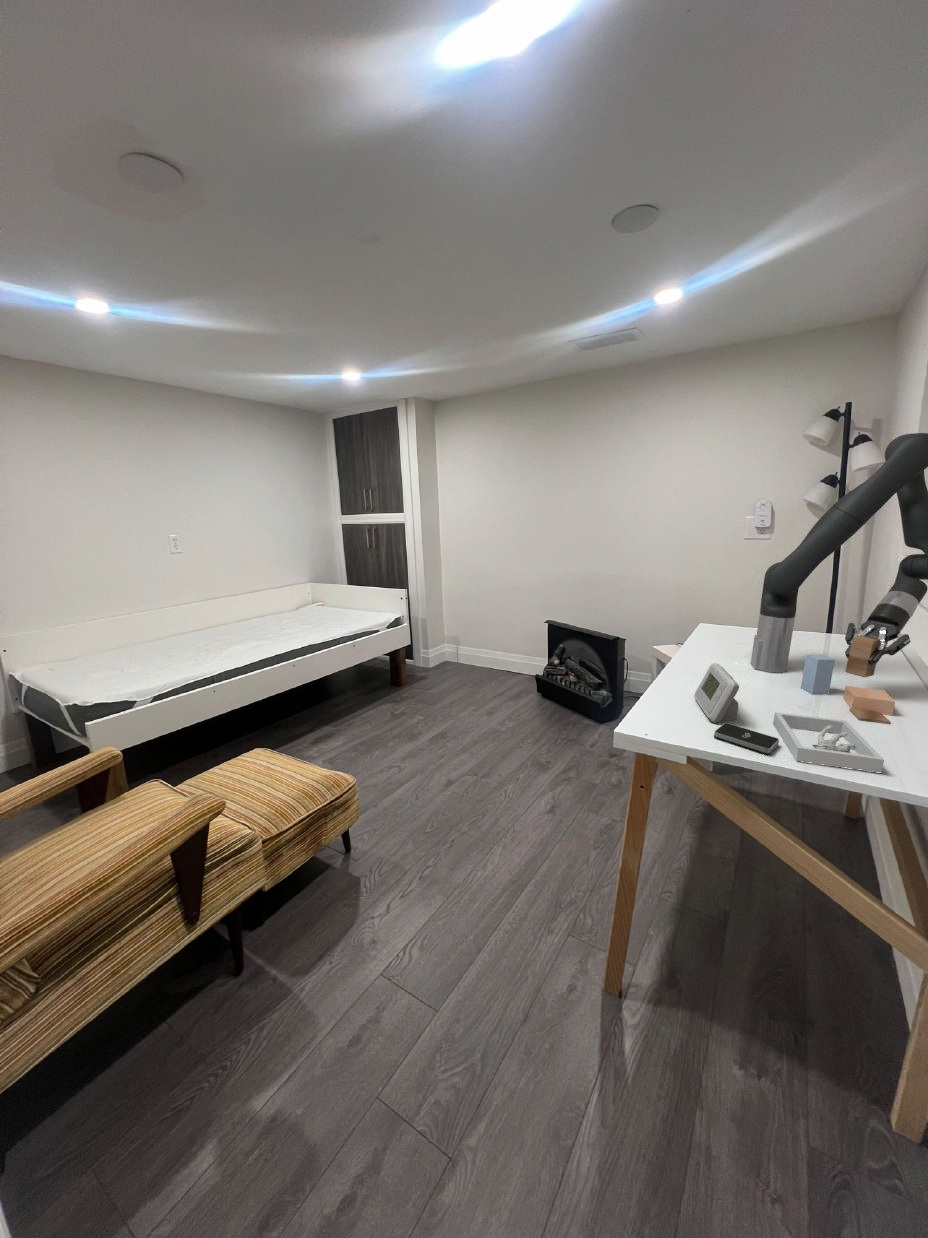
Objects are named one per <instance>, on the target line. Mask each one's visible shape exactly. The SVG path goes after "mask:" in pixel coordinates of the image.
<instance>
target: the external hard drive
mask: <svg viewBox="0 0 928 1238" xmlns="http://www.w3.org/2000/svg"><path fill="white" fill-rule="evenodd" d="M713 738H714V739H715V740H718V741H721V742H723V743H725V744H730V745H731V746H732V745H733V746H736V747H739V748H741V749H744V750H747V749H748V751H751V752H754V753H757V754H760V755H763V754H764V755H763V756H766V755H767V756H768V755H769V756H770V755H771V754H772V753H773V752H774V751H775V750H776V749H777V748H778V747H779V743H780V739H779V737H774V736H771V735H768V734H766V733H761V732H759V731H755V730H751V729H749V728H745V727H741V726H738V725H735V724H731V723H729V722H725V723H723V724H722V725H721V726H719V727H718V728H717V729H715V731H714V733H713ZM769 756H768V757H769Z"/></svg>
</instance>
